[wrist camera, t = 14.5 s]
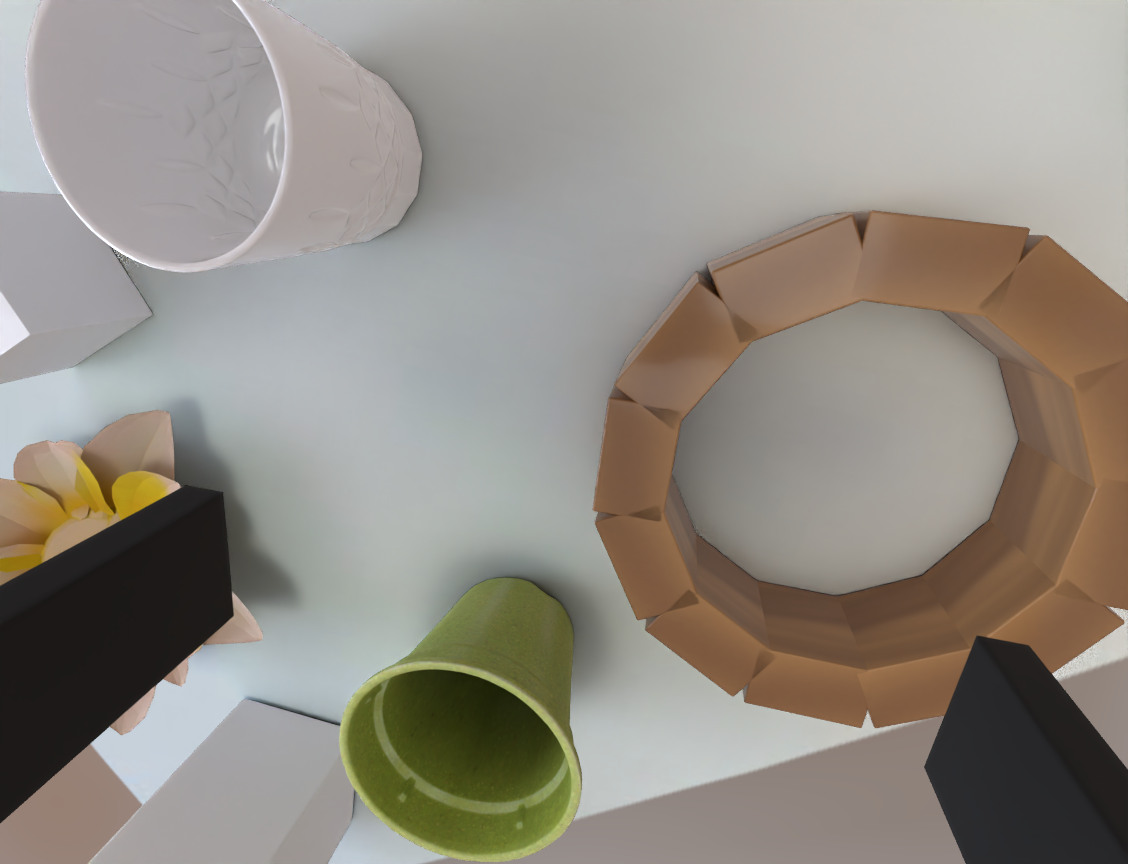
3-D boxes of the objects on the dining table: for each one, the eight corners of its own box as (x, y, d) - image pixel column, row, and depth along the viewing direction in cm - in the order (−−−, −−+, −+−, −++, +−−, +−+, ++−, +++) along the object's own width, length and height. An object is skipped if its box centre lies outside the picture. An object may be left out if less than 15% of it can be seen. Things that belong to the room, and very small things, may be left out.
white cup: (466, 103, 24) (330, 26, 15) (398, 288, 27) (248, 321, 18) (288, 11, 25) (44, -121, 15) (238, 205, 27) (7, 194, 18)
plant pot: (626, 701, 32) (605, 865, 24) (454, 712, 34) (380, 865, 26) (585, 534, 29) (546, 652, 21) (403, 557, 31) (304, 672, 23)
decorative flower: (314, 676, 32) (111, 836, 24) (181, 662, 38) (-25, 790, 29) (221, 393, 30) (-48, 457, 21) (91, 421, 35) (-167, 481, 26)
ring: (647, 192, 24) (638, 184, 20) (1174, 251, 22) (1307, 258, 17) (588, 596, 30) (570, 664, 26) (996, 680, 28) (1059, 772, 23)
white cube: (77, 195, 29) (-71, 187, 23) (154, 314, 30) (30, 334, 24) (-4, 257, 30) (-159, 264, 25) (71, 367, 32) (-61, 398, 26)
